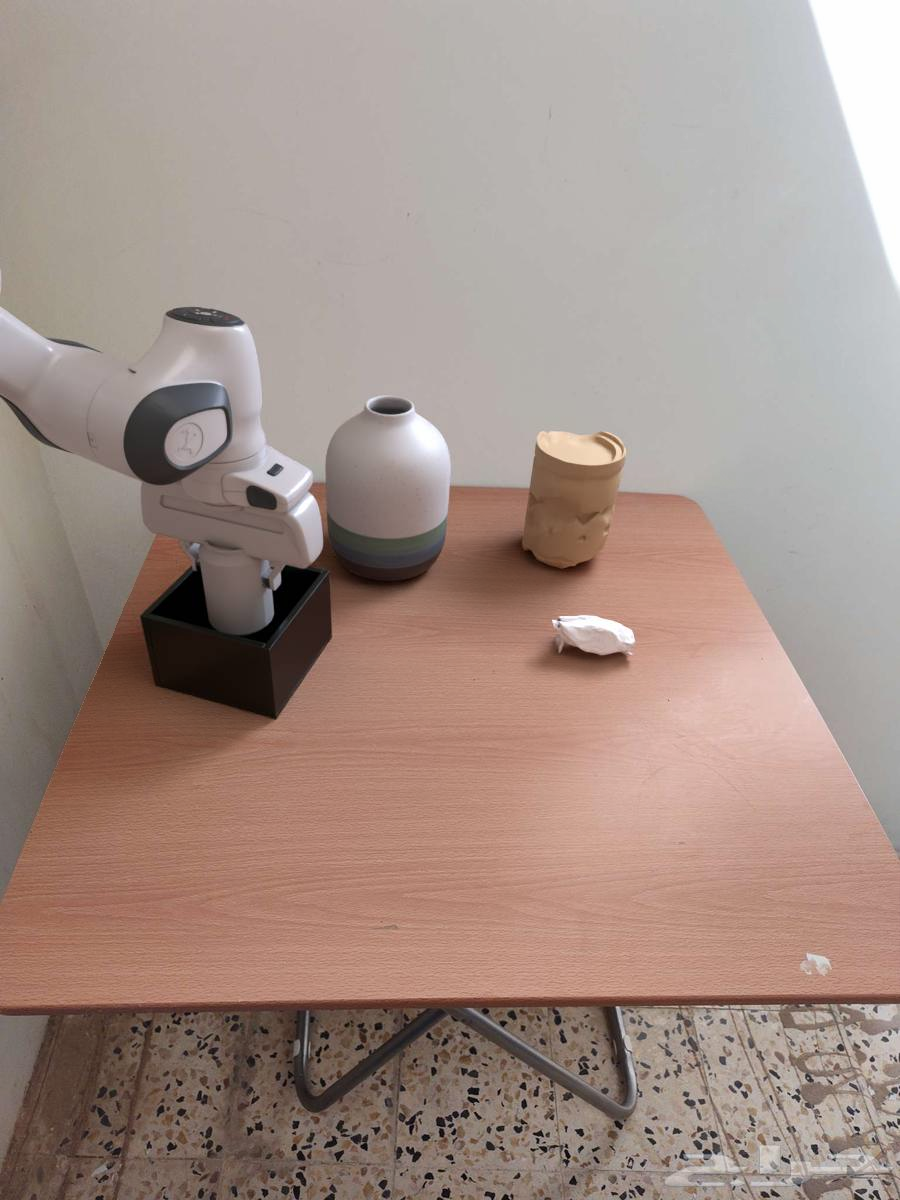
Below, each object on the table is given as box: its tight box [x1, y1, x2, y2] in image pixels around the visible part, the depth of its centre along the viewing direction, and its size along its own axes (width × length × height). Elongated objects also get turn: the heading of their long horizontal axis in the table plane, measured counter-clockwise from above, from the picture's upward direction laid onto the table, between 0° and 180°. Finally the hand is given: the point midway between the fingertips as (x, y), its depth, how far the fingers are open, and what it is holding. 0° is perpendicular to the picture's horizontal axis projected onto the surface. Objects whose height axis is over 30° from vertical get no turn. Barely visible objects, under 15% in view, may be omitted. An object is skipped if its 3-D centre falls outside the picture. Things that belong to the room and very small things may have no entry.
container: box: [521, 430, 627, 569], centre depth 117 cm, size 13×13×18 cm
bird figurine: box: [551, 614, 636, 657], centre depth 103 cm, size 5×7×10 cm
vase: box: [324, 394, 452, 582], centre depth 110 cm, size 17×17×24 cm
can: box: [199, 540, 274, 636], centre depth 91 cm, size 8×8×12 cm
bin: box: [139, 564, 333, 720], centre depth 95 cm, size 16×16×10 cm
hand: (237, 577), depth 91 cm, fingers closed on can, 7 cm apart
